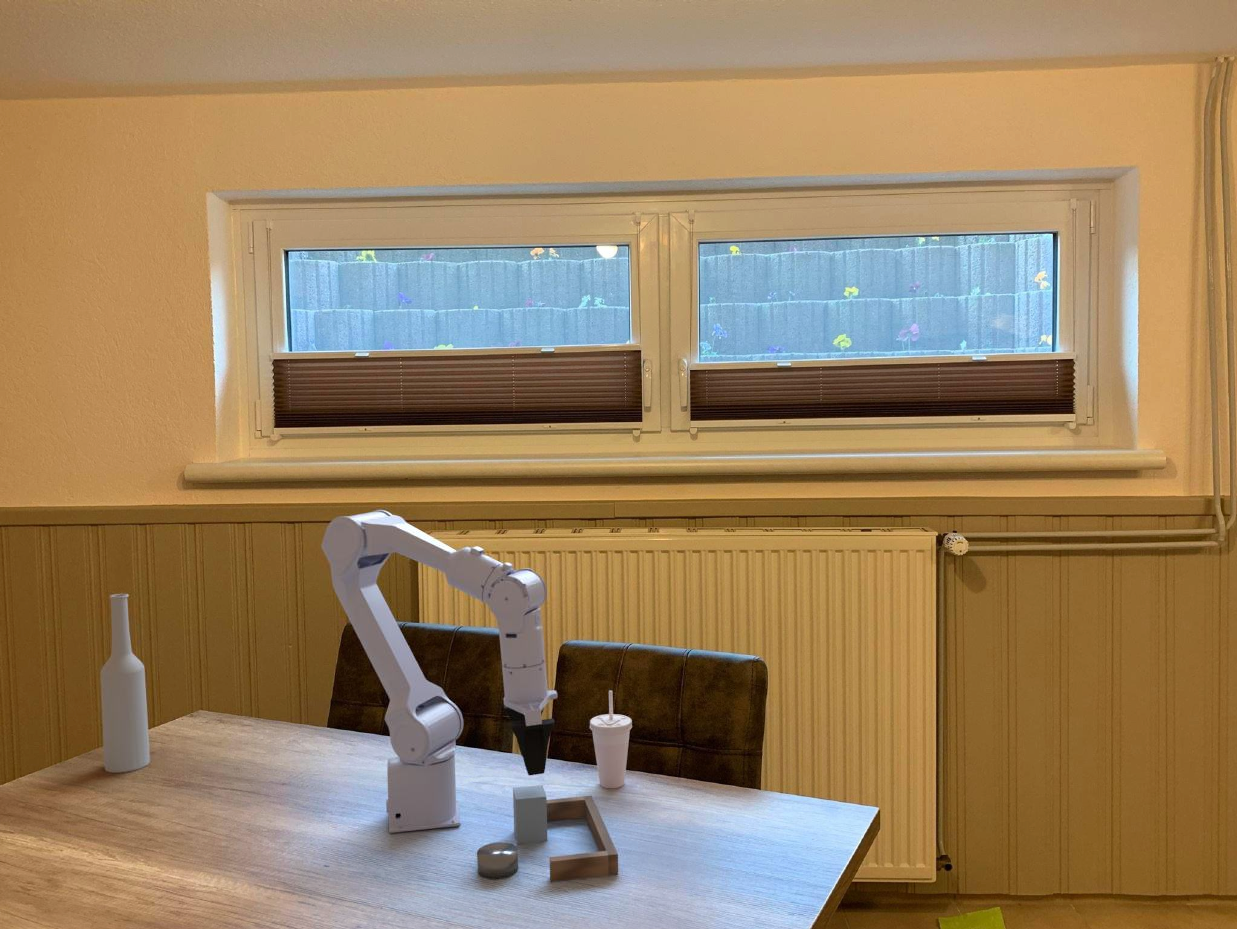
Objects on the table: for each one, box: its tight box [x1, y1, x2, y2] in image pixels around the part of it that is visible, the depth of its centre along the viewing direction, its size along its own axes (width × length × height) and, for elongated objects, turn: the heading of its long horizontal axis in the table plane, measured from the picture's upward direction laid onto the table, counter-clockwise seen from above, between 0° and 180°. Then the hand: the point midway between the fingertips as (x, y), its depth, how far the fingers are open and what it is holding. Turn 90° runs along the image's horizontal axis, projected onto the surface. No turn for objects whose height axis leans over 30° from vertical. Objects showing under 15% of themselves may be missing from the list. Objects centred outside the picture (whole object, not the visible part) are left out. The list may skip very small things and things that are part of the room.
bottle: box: [99, 593, 151, 774], centre depth 158 cm, size 7×7×28 cm
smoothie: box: [589, 690, 633, 789], centre depth 147 cm, size 6×6×14 cm
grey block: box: [512, 784, 549, 845], centre depth 130 cm, size 4×4×6 cm
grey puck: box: [476, 841, 519, 881], centre depth 120 cm, size 5×5×2 cm
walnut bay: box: [547, 795, 619, 883], centre depth 127 cm, size 8×18×2 cm, turn 12°
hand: (532, 764), depth 129 cm, fingers open, 7 cm apart
